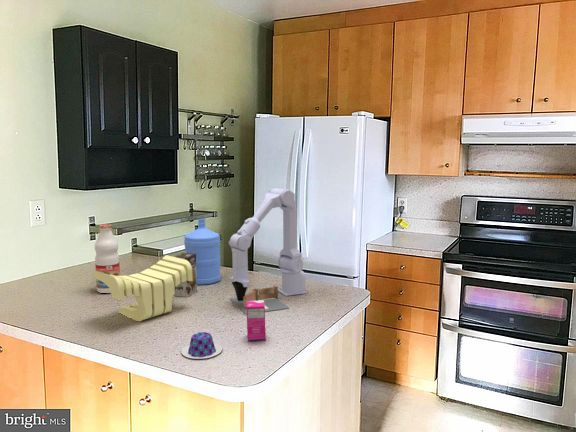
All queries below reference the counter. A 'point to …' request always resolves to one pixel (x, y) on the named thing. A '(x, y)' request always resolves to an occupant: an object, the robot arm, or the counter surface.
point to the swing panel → (249, 297)
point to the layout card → (270, 303)
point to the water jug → (204, 253)
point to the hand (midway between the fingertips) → (240, 300)
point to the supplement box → (256, 321)
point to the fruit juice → (106, 256)
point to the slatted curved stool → (149, 287)
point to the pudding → (201, 346)
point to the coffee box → (187, 286)
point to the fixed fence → (267, 293)
